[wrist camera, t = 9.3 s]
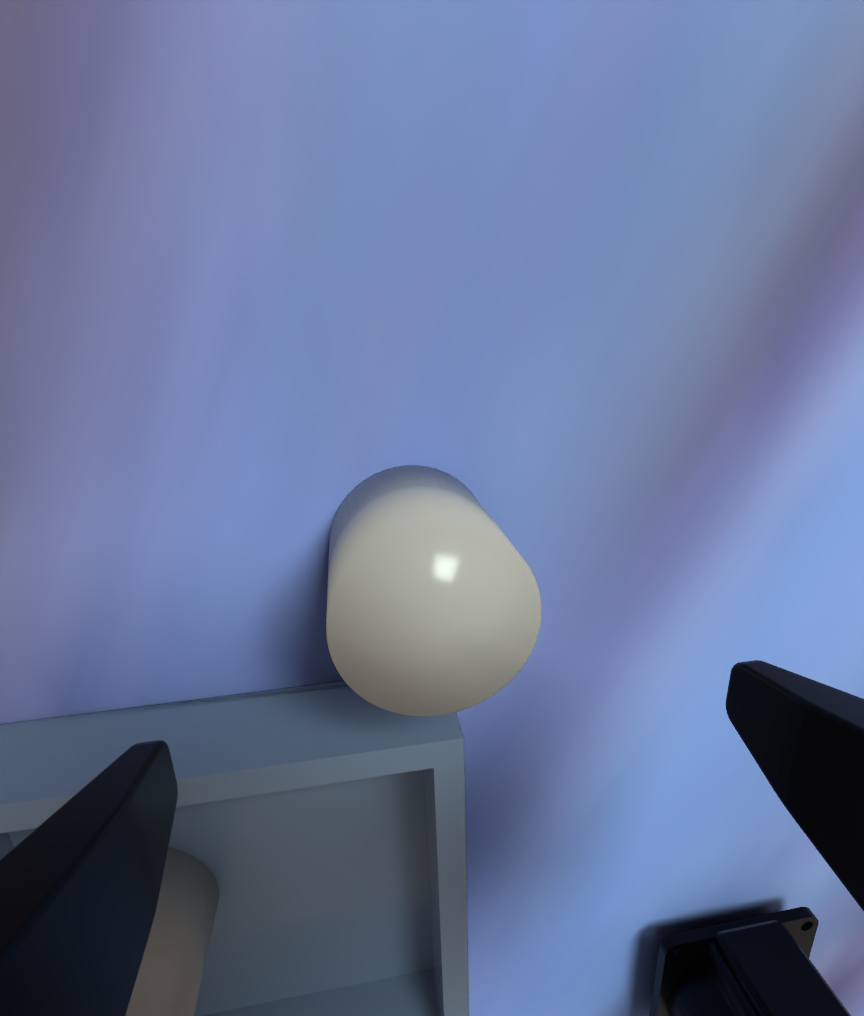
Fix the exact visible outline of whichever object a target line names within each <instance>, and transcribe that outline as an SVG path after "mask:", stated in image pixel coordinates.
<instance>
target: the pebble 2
mask: <svg viewBox="0 0 864 1016" xmlns="http://www.w3.org/2000/svg"><path fill="white" fill-rule="evenodd" d="M540 623H541V599H540V594H539V589H538V586H537V583H536V580H535V577H534V576H533V574H532V572H531V570H530V568H529V566H528V565H527V564H526V562H525V561H524V560H523V558H522V557H521V556H520V554H519V553H518V552H517V550H516V549H515V548H514V547H513V545H512V544H511V543H510V541H509V540H508V539H507V537H506V536H505V535H504V534H503V532H502V531H501V530H500V528H499V527H498V526H497V524H496V523H495V522H494V521H493V519H492V518H491V517H490V515H489V514H488V513H487V512H486V510H485V509H484V508H483V506H482V505H481V504H480V502H479V501H478V500H477V499H476V497H475V496H474V495H473V493H472V492H471V491H470V490H469V489H468V488H467V487H466V486H465V485H464V484H463V483H462V482H460V481H459V480H458V479H456V478H455V477H453V476H451V475H450V474H448V473H446V472H443V471H441V470H438V469H435V468H431V467H426V466H417V465H410V466H399V467H394V468H390V469H386V470H383V471H381V472H378V473H376V474H374V475H372V476H370V477H369V478H367V479H365V480H364V481H362V482H361V483H360V484H358V485H357V486H356V487H355V488H354V489H353V490H352V491H351V492H350V493H349V494H348V495H347V497H346V498H345V499H344V500H343V502H342V503H341V505H340V507H339V508H338V510H337V512H336V515H335V517H334V520H333V523H332V527H331V531H330V540H329V566H328V593H327V619H326V632H327V643H328V648H329V652H330V655H331V658H332V661H333V663H334V665H335V667H336V669H337V671H338V673H339V674H340V676H341V677H342V678H343V680H344V681H345V682H346V684H347V685H348V686H349V687H350V688H351V689H352V690H353V691H354V692H355V693H357V694H358V695H359V696H361V697H362V698H363V699H365V700H366V701H368V702H370V703H372V704H374V705H375V706H377V707H380V708H382V709H385V710H387V711H390V712H394V713H398V714H403V715H410V716H438V715H445V714H450V713H454V712H458V711H461V710H464V709H467V708H469V707H472V706H474V705H476V704H479V703H480V702H482V701H484V700H486V699H488V698H489V697H491V696H492V695H494V694H495V693H497V692H498V691H499V690H501V689H502V688H503V687H504V686H505V685H506V684H508V683H509V682H510V681H511V680H512V679H513V678H514V676H515V675H516V674H517V673H518V672H519V671H520V669H521V668H522V667H523V665H524V664H525V662H526V661H527V659H528V657H529V656H530V654H531V652H532V650H533V648H534V645H535V642H536V640H537V637H538V633H539V629H540Z"/></svg>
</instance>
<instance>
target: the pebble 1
mask: <svg viewBox="0 0 864 1016" xmlns="http://www.w3.org/2000/svg"><path fill="white" fill-rule="evenodd" d="M218 903H219V887H218V884H217V881H216V879H215V877H214V875H213V874H212V872H211V871H210V870H209V869H208V868H207V867H206V866H205V865H204V864H203V863H202V862H201V861H199V860H198V859H196V858H195V857H193V856H191V855H189V854H187V853H185V852H182V851H179V850H176V849H173V848H168V852H167V857H166V862H165V868H164V873H163V878H162V883H161V889H160V894H159V899H158V903H157V908H156V913H155V917H154V920H153V924H152V928H151V931H150V935H149V938H148V942H147V945H146V948H145V952H144V955H143V959H142V962H141V965H140V969H139V972H138V975H137V979H136V982H135V985H134V989H133V992H132V995H131V999H130V1002H129V1005H128V1009H127V1012H126V1016H194V1014H195V1009H196V1004H197V1000H198V995H199V990H200V986H201V981H202V977H203V972H204V967H205V963H206V958H207V953H208V949H209V944H210V940H211V935H212V930H213V926H214V921H215V916H216V912H217V907H218Z"/></svg>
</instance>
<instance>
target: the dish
mask: <svg viewBox="0 0 864 1016" xmlns="http://www.w3.org/2000/svg"><path fill="white" fill-rule="evenodd" d="M155 740H163V741H165V742H166V743H167V745H168V747H169V750H170V754H171V759H172V763H173V767H174V771H175V776H176V780H177V786H178V797H177V804H176V810H175V815H174V820H173V826H172V831H171V836H170V841H169V847H168V848H173V849H176V850H179V851H182V852H185V853H187V854H189V855H191V856H193V857H195V858H196V859H198V860H199V861H201V862H202V863H203V864H204V865H205V866H206V867H207V868H208V869H209V870H210V871H211V872H212V874H213V875H214V877H215V879H216V881H217V884H218V887H219V903H218V907H217V912H216V916H215V921H214V926H213V930H212V935H211V940H210V944H209V949H208V953H207V958H206V963H205V967H204V972H203V977H202V981H201V986H200V990H199V995H198V1000H197V1004H196V1009H195V1014H194V1016H469V982H468V929H467V876H466V823H465V770H464V737H463V734H462V730H461V727H460V724H459V720H458V717H457V714H456V712H454V713H450V714H445V715H438V716H410V715H403V714H398V713H394V712H390V711H387V710H385V709H382V708H380V707H377V706H375V705H374V704H372V703H370V702H368V701H366V700H365V699H363V698H362V697H361V696H359V695H358V694H357V693H355V692H354V691H353V690H352V689H351V688H350V687H349V686H348V685H347V684H346V682H345V681H340V682H332V683H324V684H316V685H308V686H300V687H292V688H284V689H276V690H269V691H261V692H253V693H245V694H237V695H229V696H221V697H213V698H205V699H197V700H189V701H181V702H173V703H165V704H157V705H150V706H142V707H134V708H126V709H118V710H110V711H102V712H94V713H86V714H78V715H70V716H62V717H54V718H46V719H38V720H31V721H23V722H15V723H7V724H0V859H2V858H3V857H4V856H5V855H6V854H7V853H8V852H10V851H11V850H12V849H13V848H14V847H15V846H17V845H18V844H19V843H20V842H21V841H22V840H23V839H25V838H26V837H27V836H28V835H29V834H30V833H32V832H33V831H34V830H35V829H36V828H37V827H38V826H40V825H41V824H42V823H43V822H44V821H45V820H47V819H48V818H49V817H50V816H51V815H52V814H53V813H55V812H56V811H57V810H58V809H59V808H60V807H62V806H63V805H64V804H65V803H66V802H67V801H68V800H70V799H71V798H72V797H73V796H74V795H75V794H77V793H78V792H79V791H80V790H81V789H82V788H83V787H85V786H86V785H87V784H88V783H89V782H90V781H92V780H93V779H94V778H95V777H96V776H97V775H98V774H100V773H101V772H102V771H103V770H104V769H105V768H107V767H108V766H109V765H110V764H111V763H112V762H113V761H115V760H116V759H117V758H118V757H119V756H120V755H122V754H123V753H124V752H125V751H126V750H127V749H128V748H130V747H131V746H132V745H134V744H136V743H140V742H147V741H155Z"/></svg>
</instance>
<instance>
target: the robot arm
mask: <svg viewBox="0 0 864 1016" xmlns="http://www.w3.org/2000/svg"><path fill="white" fill-rule="evenodd" d="M726 710H727V714H728V717H729V719H730V721H731V722H732V724H733V726H734V727H735V729H736V730H737V732H738V734H739V735H740V737H741V738H742V740H743V742H744V743H745V745H746V746H747V748H748V749H749V751H750V753H751V754H752V756H753V757H754V759H755V761H756V762H757V764H758V765H759V767H760V769H761V770H762V772H763V773H764V775H765V777H766V778H767V780H768V781H769V783H770V785H771V786H772V788H773V789H774V791H775V792H776V794H777V795H778V797H779V798H780V800H781V801H782V803H783V804H784V806H785V807H786V809H787V810H788V811H789V813H790V814H791V815H792V817H793V818H794V820H795V821H796V822H797V824H798V825H799V826H800V828H801V829H802V830H803V832H804V833H805V834H806V836H807V837H808V838H809V840H810V841H811V842H812V843H813V845H814V846H815V847H816V849H817V850H818V851H819V853H820V854H821V855H822V857H823V858H824V859H825V861H826V862H827V863H828V865H829V866H830V867H831V869H832V870H833V871H834V873H835V874H836V875H837V877H838V878H839V879H840V881H841V882H842V883H843V885H844V886H845V887H846V889H847V890H848V891H849V892H850V894H851V895H852V896H853V898H854V899H855V900H856V902H857V903H858V904H859V906H860V907H861V908H862V910H863V911H864V699H862V698H859V697H857V696H854V695H851V694H849V693H846V692H843V691H841V690H838V689H835V688H833V687H830V686H827V685H825V684H822V683H819V682H817V681H814V680H811V679H809V678H806V677H803V676H801V675H798V674H795V673H793V672H790V671H787V670H785V669H782V668H779V667H777V666H774V665H771V664H769V663H766V662H763V661H758V660H755V661H747V662H740V663H737V664H735V665H734V666H733V668H732V670H731V674H730V680H729V686H728V692H727V698H726ZM177 797H178V786H177V780H176V776H175V771H174V767H173V763H172V759H171V754H170V750H169V747H168V745H167V743H166V742H165V741H163V740H155V741H147V742H140V743H136V744H134V745H132V746H131V747H130V748H128V749H127V750H126V751H125V752H124V753H123V754H122V755H120V756H119V757H118V758H117V759H116V760H115V761H113V762H112V763H111V764H110V765H109V766H108V767H107V768H105V769H104V770H103V771H102V772H101V773H100V774H98V775H97V776H96V777H95V778H94V779H93V780H92V781H90V782H89V783H88V784H87V785H86V786H85V787H83V788H82V789H81V790H80V791H79V792H78V793H77V794H75V795H74V796H73V797H72V798H71V799H70V800H68V801H67V802H66V803H65V804H64V805H63V806H62V807H60V808H59V809H58V810H57V811H56V812H55V813H53V814H52V815H51V816H50V817H49V818H48V819H47V820H45V821H44V822H43V823H42V824H41V825H40V826H38V827H37V828H36V829H35V830H34V831H33V832H32V833H30V834H29V835H28V836H27V837H26V838H25V839H23V840H22V841H21V842H20V843H19V844H18V845H17V846H15V847H14V848H13V849H12V850H11V851H10V852H8V853H7V854H6V855H5V856H4V857H3V858H2V859H0V1016H126V1012H127V1009H128V1005H129V1002H130V999H131V995H132V992H133V989H134V985H135V982H136V979H137V975H138V972H139V969H140V965H141V962H142V959H143V955H144V952H145V948H146V945H147V942H148V938H149V935H150V931H151V928H152V924H153V920H154V917H155V913H156V908H157V903H158V899H159V894H160V889H161V883H162V878H163V873H164V868H165V862H166V857H167V852H168V847H169V841H170V836H171V831H172V826H173V820H174V815H175V810H176V804H177ZM817 927H818V919H817V918H816V917H815V915H814V914H813V913H812V912H811V911H810V909H809V908H807V907H799V908H795V909H790V910H785V911H780V912H775V913H770V914H765V915H761V916H756V917H751V918H746V919H741V920H736V921H731V922H727V923H722V924H717V925H712V926H707V927H702V928H697V929H693V930H688V931H683V932H678V933H673V934H670V935H668V936H666V937H665V938H664V939H663V940H662V941H661V943H660V946H659V953H658V960H657V967H656V973H655V980H654V987H653V994H652V1001H651V1008H650V1015H649V1016H851V1015H850V1014H849V1012H848V1011H847V1010H846V1008H845V1007H844V1006H843V1004H842V1003H841V1002H840V1000H839V999H838V998H837V996H836V995H835V994H834V992H833V991H832V989H831V988H830V987H829V985H828V984H827V983H826V981H825V980H824V979H823V977H822V976H821V975H820V973H819V972H818V970H817V969H816V968H815V966H814V965H813V964H812V962H811V961H810V960H809V956H810V952H811V948H812V945H813V941H814V937H815V934H816V930H817Z"/></svg>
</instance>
